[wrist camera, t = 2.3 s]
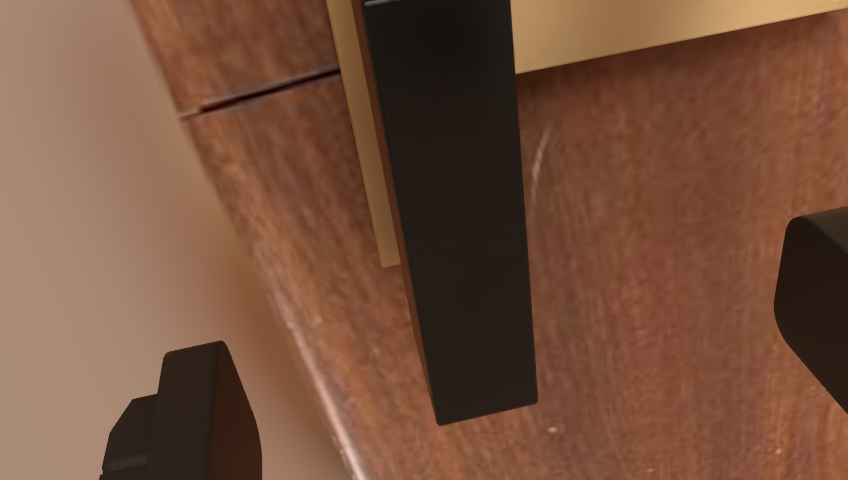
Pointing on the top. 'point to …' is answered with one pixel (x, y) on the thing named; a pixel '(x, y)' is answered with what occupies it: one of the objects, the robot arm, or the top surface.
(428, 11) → the knife
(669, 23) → the board
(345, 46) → the knife rest
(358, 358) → the top surface
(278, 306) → the top surface
